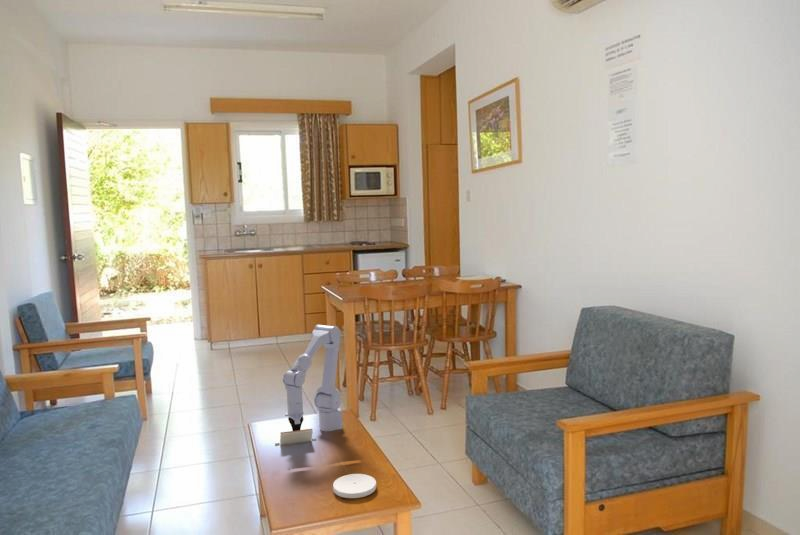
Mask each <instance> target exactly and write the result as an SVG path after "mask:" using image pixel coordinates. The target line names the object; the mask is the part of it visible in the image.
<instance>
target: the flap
mask: <svg viewBox="0 0 800 535" xmlns="http://www.w3.org/2000/svg"><path fill="white" fill-rule="evenodd" d="M313 431H314V430H313V428H307V429H300V430H297V431H293V430H290V431H289V430H288V431H283V432H280V438H279V441H280V442H279V444H280V445H279V446H284V445H292V444H297V443H301V444H302V443H307V442H313V441H312V439H313V438H312V437H313Z"/></svg>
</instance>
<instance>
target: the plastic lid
mask: <svg viewBox="0 0 800 535" xmlns="http://www.w3.org/2000/svg"><path fill="white" fill-rule="evenodd" d="M332 489H333V490H332V491H333V492H334V494H335V495H336V496H338V497H341V498H345V499H359V498H364V497H367V496H369V495H371V494H372V493H374V492H375V491H376V489H377V481H376V479H375V478H374V477H373V476H371V475H368V474H364V473H349V474H347V475H343V476H340V477H337V478H336V479H335V480H334V481H333V484H332Z"/></svg>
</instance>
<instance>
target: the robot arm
mask: <svg viewBox="0 0 800 535" xmlns="http://www.w3.org/2000/svg"><path fill="white" fill-rule="evenodd" d="M311 332H312V334H311V336H312V338H311V340H310V341H309V343H308V345H307V347H306V350H305V351H304V352H303V354H300V355H299V356H298V357H297V358H296V361H295V362H294V364H293V365H292V367H291V368H290V370H289V369H288V370H287V371H286V372H285V373H284V375H283V379H282V383H283V385H284V387H285V388H284V389H285V391H286V401H287V402H286V403H287V412H285V413H284V416H285V417H287V419H288V422H289V424H290V426H291V431H297V430H302V429H301V428H302V424H303V422H304V414H305V413H304V407H303V406H304V405H303V385H304V383H305V380H306V375H307V374H306V373H307V372H308V370H309V368H310V367H311V366H312V363H313V360H312V359H313V357H314V355H315V354H316V353H317V351H319V349H320V348H321V346H322V345H323V346H324V347H325V352H324V353H325V355H324V364H323V370H322V371H323V373H322V382H321V386H320V387H318V388H317V389H316V392H315V396H314V399H313V402H314V405H315V407H316V408H317V411H318V420H319V421H318V423H319V430H320V431H321V432H333V431H339V430H343V413H342V412H343V411H342V408H341V407H340V406H341V396H340V395H341V392H340V390H339V389H338V388H337V387H336V380H337V366H338V359H339V349H340V344H341V337H342V336H341V334H342V331H341V329H340V328H339V327H338V326H337V325H327V324H326V325H324V324H316V325H315V326H314V328H313V330H312V331H311Z"/></svg>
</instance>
